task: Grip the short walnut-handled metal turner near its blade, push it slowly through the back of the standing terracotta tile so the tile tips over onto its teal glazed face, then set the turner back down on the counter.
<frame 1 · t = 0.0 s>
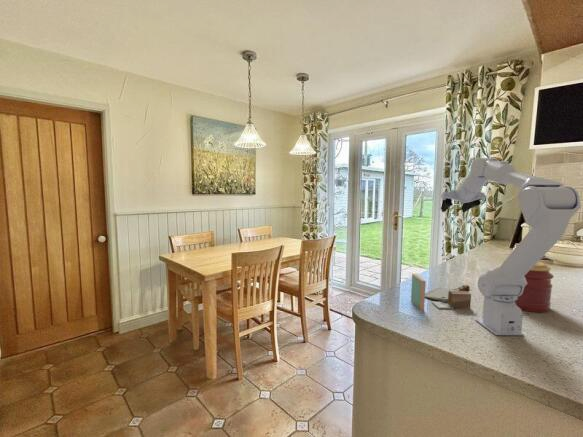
hand: (452, 210, 109), 32 cm above the counter, tool tilted 50°, fingers open, 7 cm apart
kitchen cleaver: (448, 293, 111), on the counter, touching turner
canister: (525, 305, 101), on the counter
tile: (417, 291, 99), point 5 cm above the counter
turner: (449, 306, 99), on the counter, touching kitchen cleaver
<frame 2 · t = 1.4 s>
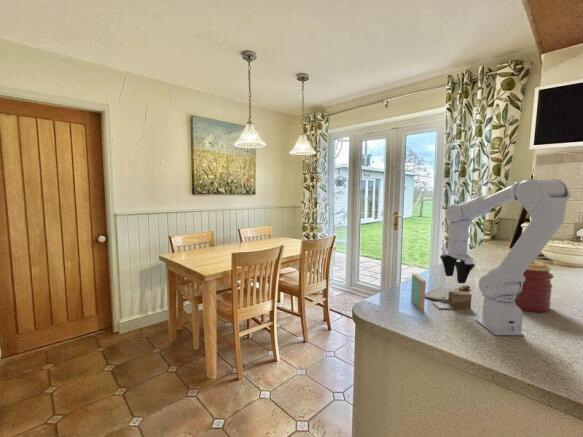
hand: (455, 279, 99), 9 cm above the counter, tool pointing down, fingers open, 7 cm apart
nothing on the counter moved.
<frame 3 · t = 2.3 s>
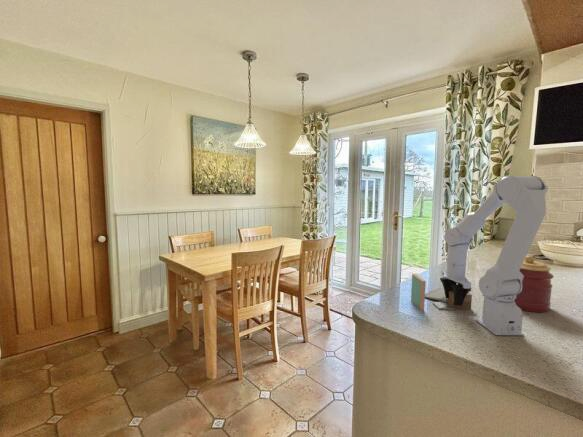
hand: (453, 301, 100), 1 cm above the counter, tool pointing down, fingers open, 5 cm apart
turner: (450, 306, 99), on the counter, touching gripper, kitchen cleaver
everything else where it was.
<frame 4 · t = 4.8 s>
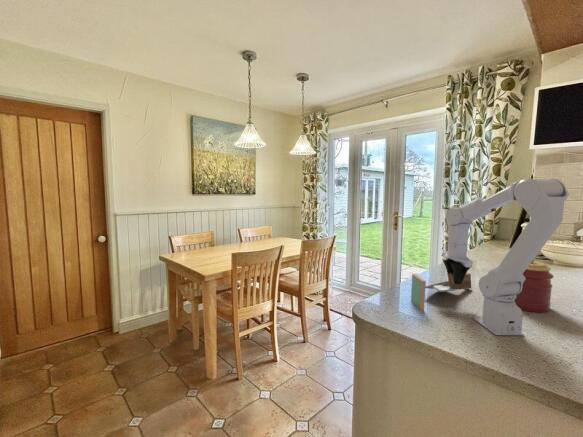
hand: (455, 282, 99), 8 cm above the counter, tool pointing down, fingers closed on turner, 3 cm apart
kitchen cleaver: (450, 288, 110), point 2 cm above the counter, touching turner
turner: (451, 288, 99), point 6 cm above the counter, tilted 6°, touching gripper, kitchen cleaver
everything else where it was.
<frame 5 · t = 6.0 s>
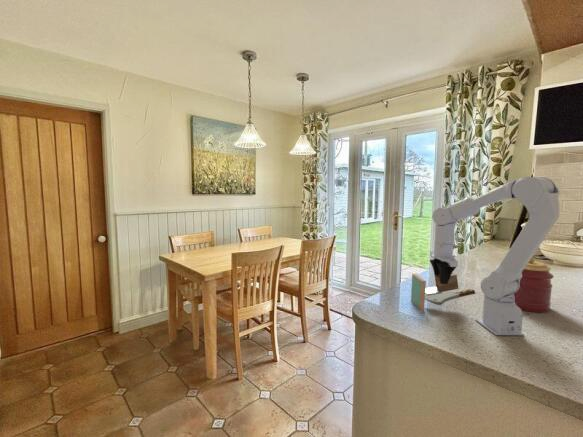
hand: (441, 281, 99), 8 cm above the counter, tool pointing down, fingers closed on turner, 3 cm apart
kitchen cleaver: (447, 296, 110), on the counter
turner: (438, 290, 99), point 5 cm above the counter, tilted 11°, touching gripper
everything else where it was.
when the fingers open (3 cm above the counter, at t = 12.6 s): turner stays where it is, on the counter.
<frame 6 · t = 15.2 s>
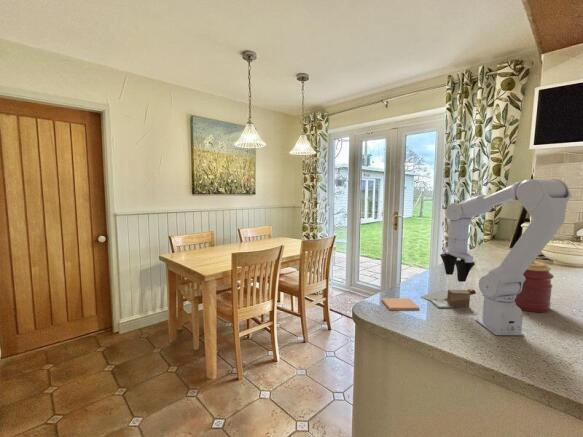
hand: (455, 277, 99), 10 cm above the counter, tool pointing down, fingers open, 7 cm apart
tile: (399, 304, 100), on the counter, tilted 90°
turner: (449, 305, 100), on the counter
everything else where it was.
at the end: tile tilted 90°; tile inside the target area (0.4 cm from its centre), on the counter; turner on the counter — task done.
